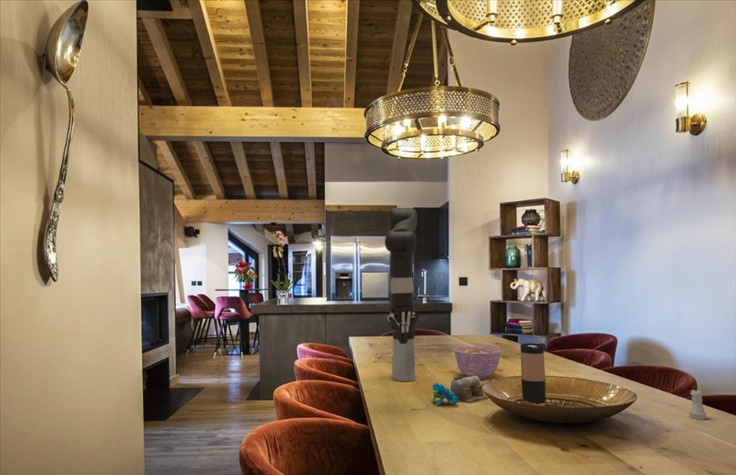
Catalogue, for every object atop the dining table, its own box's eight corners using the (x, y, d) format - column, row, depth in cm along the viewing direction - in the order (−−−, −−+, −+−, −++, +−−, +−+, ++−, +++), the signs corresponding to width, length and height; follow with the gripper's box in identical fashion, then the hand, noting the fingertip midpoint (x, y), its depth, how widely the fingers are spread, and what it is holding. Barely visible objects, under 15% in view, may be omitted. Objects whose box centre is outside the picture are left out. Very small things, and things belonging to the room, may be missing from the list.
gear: (465, 401, 159) (445, 381, 157) (456, 416, 156) (436, 396, 155) (446, 398, 168) (427, 380, 167) (437, 412, 166) (418, 394, 164)
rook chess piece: (704, 416, 144) (702, 389, 145) (709, 420, 140) (707, 393, 141) (687, 415, 146) (685, 388, 146) (691, 419, 142) (690, 392, 142)
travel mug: (528, 400, 165) (526, 342, 166) (550, 404, 159) (547, 344, 161) (518, 405, 159) (515, 345, 161) (539, 409, 154) (537, 347, 156)
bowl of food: (465, 370, 219) (465, 345, 220) (508, 375, 207) (507, 348, 208) (446, 378, 203) (445, 350, 204) (491, 384, 191) (490, 354, 192)
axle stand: (466, 404, 161) (465, 379, 162) (445, 398, 169) (444, 375, 170) (488, 398, 168) (487, 375, 169) (467, 393, 176) (466, 371, 177)
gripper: (410, 289, 164) (411, 339, 164) (379, 291, 157) (380, 344, 156) (424, 290, 158) (425, 342, 157) (393, 292, 151) (394, 347, 150)
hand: (403, 343), depth 157 cm, fingers closed
